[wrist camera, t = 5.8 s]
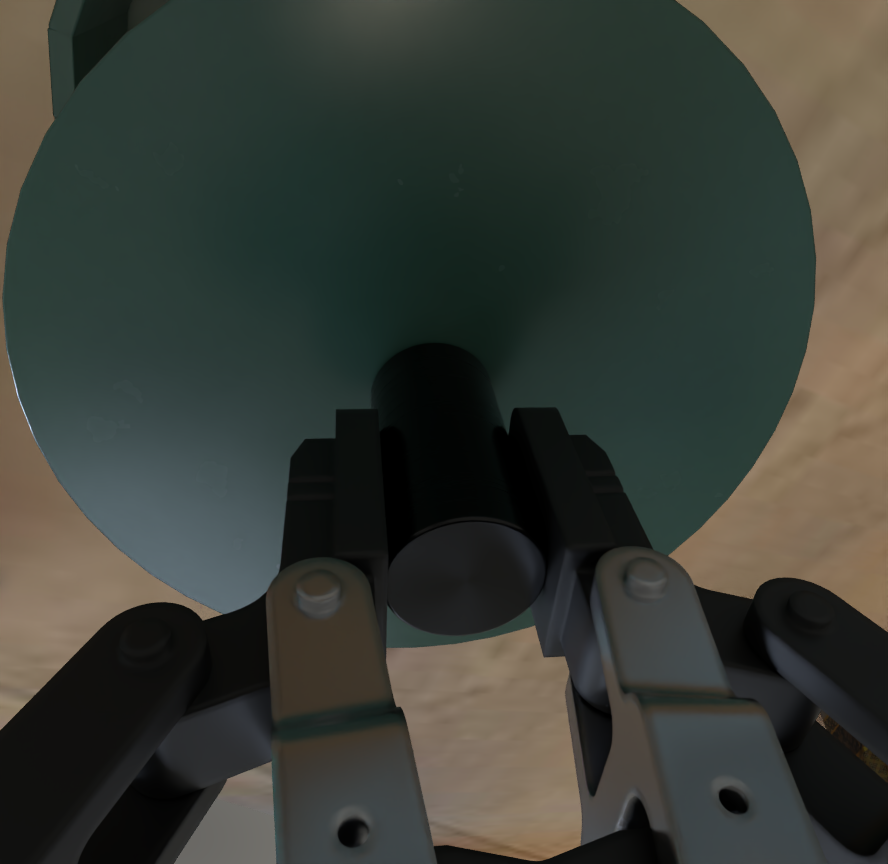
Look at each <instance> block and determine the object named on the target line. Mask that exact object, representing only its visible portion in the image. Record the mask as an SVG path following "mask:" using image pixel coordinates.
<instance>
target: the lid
mask: <svg viewBox="0 0 888 864" xmlns="http://www.w3.org/2000/svg"><path fill="white" fill-rule="evenodd" d="M815 274H816V253H815V244H814V235H813V226H812V217H811V209H810V205H809V202H808V198H807V194H806V191H805V187H804V183H803V180H802V176H801V172H800V169H799V165H798V161H797V159H796V156H795V154H794V152H793V150H792V148H791V145H790V143H789V141H788V139H787V136H786V134H785V132H784V130H783V128H782V125H781V123H780V121H779V119H778V117H777V114H776V112H775V110H774V109H773V107H772V106H771V104H770V103H769V101H768V100H767V98H766V97H765V95H764V94H763V93H762V91H761V90H760V88H759V87H758V85H757V84H756V82H755V81H754V79H753V78H752V76H751V75H750V73H749V72H748V70H747V69H746V67H745V66H744V64H743V63H742V62H741V61H740V60H739V59H738V58H737V57H736V56H735V55H734V54H733V53H732V52H731V51H730V49H729V48H728V47H727V46H726V45H725V44H724V43H723V42H722V41H721V40H720V39H719V38H718V37H717V36H716V35H715V34H714V32H713V31H712V30H711V29H710V28H709V27H708V26H707V25H706V24H705V23H704V22H703V21H702V20H700V19H699V18H698V17H696V16H695V15H694V14H693V13H691V12H690V11H689V10H687V9H686V8H685V7H683V6H682V5H681V4H679V3H678V2H677V1H675V0H168V1H167V2H166V3H164V4H163V5H162V6H160V7H159V8H158V9H156V10H155V11H154V12H153V13H151V14H150V15H149V16H147V17H146V18H145V19H143V20H142V21H141V22H139V23H138V24H137V25H135V26H134V27H133V28H132V29H130V30H129V31H128V32H126V33H125V34H124V35H123V36H122V38H121V39H120V40H119V41H118V42H117V43H116V44H115V45H114V46H113V47H112V48H111V49H110V50H109V51H108V52H107V54H106V55H105V56H104V57H103V58H102V59H101V60H100V61H99V62H98V63H97V64H96V65H95V66H94V67H93V68H92V69H91V71H90V72H89V73H88V74H87V75H86V76H85V77H84V78H83V79H82V80H81V81H80V83H79V84H78V86H77V87H76V89H75V90H74V92H73V93H72V95H71V96H70V98H69V99H68V101H67V102H66V104H65V105H64V107H63V108H62V110H61V111H60V113H59V114H58V116H57V117H56V119H55V120H54V122H53V123H52V125H51V126H50V128H49V129H48V131H47V132H46V134H45V136H44V138H43V141H42V143H41V145H40V147H39V149H38V152H37V154H36V156H35V158H34V161H33V163H32V165H31V167H30V170H29V172H28V174H27V176H26V179H25V181H24V183H23V185H22V188H21V191H20V195H19V199H18V203H17V206H16V210H15V214H14V218H13V222H12V226H11V230H10V234H9V238H8V242H7V249H6V261H5V273H4V285H3V296H2V299H3V312H4V325H5V337H6V350H7V354H8V358H9V362H10V367H11V371H12V375H13V379H14V383H15V387H16V392H17V396H18V399H19V402H20V404H21V407H22V409H23V412H24V414H25V416H26V419H27V421H28V424H29V426H30V429H31V431H32V434H33V436H34V439H35V441H36V443H37V445H38V447H39V448H40V450H41V452H42V453H43V455H44V457H45V459H46V460H47V462H48V464H49V466H50V467H51V469H52V471H53V472H54V474H55V476H56V478H57V479H58V481H59V483H60V484H61V485H62V486H63V488H64V489H65V490H66V492H67V493H68V494H69V495H70V497H71V498H72V499H73V501H74V502H75V503H76V504H77V506H78V507H79V508H80V510H81V511H82V512H83V513H84V515H85V516H86V517H87V518H88V519H89V520H90V521H91V522H92V523H93V524H94V525H95V526H96V527H97V528H98V529H99V530H100V531H101V532H102V533H103V534H104V535H105V536H106V537H107V538H108V539H109V540H110V541H111V542H112V543H113V544H114V545H115V546H116V547H117V548H118V549H119V550H120V551H122V552H123V553H124V554H126V555H127V556H128V557H129V558H131V559H132V560H133V561H134V562H136V563H137V564H138V565H140V566H141V567H142V568H143V569H145V570H146V571H147V572H148V573H150V574H151V575H153V576H154V577H156V578H157V579H159V580H161V581H162V582H164V583H165V584H167V585H169V586H170V587H172V588H174V589H175V590H177V591H178V592H180V593H182V594H183V595H185V596H187V597H189V598H191V599H193V600H195V601H197V602H199V603H201V604H203V605H205V606H207V607H209V608H211V609H213V610H215V611H217V612H219V613H222V614H226V613H230V612H233V611H235V610H238V609H241V608H243V607H245V606H247V605H249V604H251V603H252V602H254V601H255V600H257V599H258V598H260V597H261V596H262V595H263V594H264V593H266V592H267V590H268V587H269V585H270V584H271V582H272V580H273V579H274V578H275V577H276V575H277V574H278V573H279V569H280V562H281V552H282V542H283V531H284V521H285V511H286V501H287V490H288V483H289V469H290V459H291V457H292V455H293V454H294V453H295V451H296V450H297V449H298V447H299V446H300V445H301V443H302V442H303V441H304V440H305V439H324V438H335V435H336V409H378V416H379V430H380V444H381V458H382V472H383V486H384V500H385V514H386V528H387V542H388V593H387V636H386V648H415V647H427V646H437V645H448V644H457V643H462V642H468V641H474V640H479V639H485V638H490V637H495V636H499V635H502V634H506V633H510V632H513V631H517V630H521V629H525V628H528V627H532V626H534V625H535V623H534V619H533V615H532V612H531V608H530V606H531V605H532V604H533V603H534V601H535V600H536V599H537V598H538V596H539V594H540V593H541V591H542V589H543V587H544V584H545V581H546V576H547V558H546V554H545V551H544V548H543V544H542V541H541V538H540V535H539V532H538V529H537V525H536V522H535V519H534V516H533V513H532V510H531V507H530V503H529V500H528V497H527V494H526V491H525V488H524V484H523V481H522V478H521V475H520V472H519V469H518V465H517V462H516V459H515V456H514V453H513V450H512V447H511V443H510V440H509V437H508V434H509V426H510V419H511V414H512V411H513V409H514V408H525V407H556V408H557V409H558V411H559V413H560V415H561V417H562V420H563V422H564V424H565V426H566V429H567V431H568V433H569V435H587V436H588V437H589V438H590V439H591V440H593V441H594V442H595V443H596V444H597V445H598V446H599V447H601V448H602V449H603V450H604V451H605V452H606V454H607V456H608V458H609V460H610V462H611V464H612V466H613V468H614V470H615V475H616V476H618V478H619V480H620V482H621V484H622V486H623V492H624V493H625V492H626V494H627V496H628V499H629V501H630V503H631V505H632V507H633V509H634V511H635V513H636V515H637V517H638V519H639V521H640V523H641V525H642V527H643V529H644V531H645V533H646V535H647V537H648V539H649V541H650V543H651V546H652V548H653V550H656V551H658V552H661V553H663V554H665V555H667V556H668V555H669V554H671V553H672V552H673V551H674V550H675V549H676V548H678V547H679V546H680V545H681V544H682V543H683V542H685V541H686V540H687V539H688V538H689V537H690V536H692V535H693V534H694V533H695V532H696V531H697V530H699V529H700V528H701V527H702V526H703V525H704V523H705V522H706V521H707V520H708V519H709V518H710V517H711V516H712V515H713V514H714V513H715V512H716V511H717V510H718V509H719V508H720V507H721V506H722V505H723V504H724V503H725V502H726V500H727V499H728V498H729V497H730V496H731V494H732V493H733V492H734V490H735V489H736V488H737V487H738V485H739V484H740V483H741V481H742V480H743V479H744V478H745V476H746V475H747V474H748V472H749V471H750V470H751V469H752V467H753V466H754V464H755V462H756V461H757V459H758V458H759V456H760V454H761V453H762V451H763V449H764V448H765V446H766V445H767V443H768V441H769V440H770V438H771V436H772V435H773V433H774V431H775V430H776V427H777V425H778V423H779V421H780V419H781V417H782V414H783V412H784V410H785V408H786V406H787V404H788V401H789V399H790V397H791V395H792V393H793V390H794V387H795V384H796V381H797V378H798V374H799V371H800V368H801V365H802V362H803V359H804V356H805V353H806V349H807V343H808V338H809V332H810V327H811V321H812V315H813V310H814V300H815Z"/></svg>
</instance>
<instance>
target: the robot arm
mask: <svg viewBox="0 0 888 864" xmlns="http://www.w3.org/2000/svg"><path fill="white" fill-rule="evenodd" d="M508 437H509V440H510V443H511V447H512V450H513V453H514V456H515V459H516V462H517V465H518V469H519V472H520V475H521V478H522V481H523V484H524V488H525V491H526V494H527V497H528V500H529V503H530V507H531V510H532V513H533V516H534V519H535V522H536V525H537V529H538V532H539V535H540V538H541V541H542V544H543V548H544V551H545V554H546V558H547V576H546V581H545V584H544V587H543V589H542V591H541V593H540V594H539V596H538V598H537V599H536V600H535V601H534V603H533V604H532V605H531V606H530V608H531V612H532V615H533V619H534V623H535V626H536V630H537V634H538V638H539V641H540V645H541V649H542V652H543V656H544V657H560V656H565V658H566V661H567V664H568V668H569V671H570V672H569V676H568V680H567V684H566V690H565V698H566V705H567V712H568V718H569V725H570V732H571V739H572V746H573V753H574V760H575V766H576V773H577V780H578V787H579V794H580V801H581V810H582V832H581V846H579V847H577V848H574V849H572V850H569V851H567V852H564V853H562V854H559V855H557V856H554V857H552V858H550V859H547V860H543V861H529V860H524V859H518V858H513V857H507V856H502V855H497V854H491V853H486V852H481V851H475V850H470V849H465V848H459V847H454V846H448V845H444V846H433V841H432V837H431V832H430V827H429V823H428V818H427V814H426V809H425V804H424V800H423V795H422V791H421V786H420V781H419V777H418V772H417V768H416V763H415V758H414V754H413V749H412V745H411V740H410V735H409V731H408V727H407V723H406V719H405V716H404V713H403V710H402V709H401V707H396V705H395V702H394V698H393V693H392V689H391V684H390V679H389V674H388V669H387V664H386V636H387V593H388V542H387V528H386V514H385V500H384V486H383V472H382V458H381V444H380V430H379V416H378V409H336V435H335V438H324V439H305V440H304V441H303V442H302V443H301V445H300V446H299V447H298V449H297V450H296V451H295V453H294V454H293V455H292V457H291V459H290V469H289V483H288V490H287V501H286V511H285V521H284V531H283V542H282V552H281V562H280V569H279V573H278V574H277V575H276V577H275V578H274V579H273V580H272V582H271V584H270V585H269V587H268V590H267V592H266V593H264V594H263V595H262V596H261V597H260V598H258V599H257V600H255V601H254V602H252V603H251V604H249V605H247V606H245V607H243V608H241V609H238V610H235V611H233V612H230V613H226V614H223V615H220V616H217V617H213V618H210V619H207V620H203V621H202V619H201V618H200V617H199V616H198V615H197V613H195V612H194V611H192V610H191V609H189V608H187V607H185V606H183V605H179V604H175V603H167V602H157V603H149V604H144V605H140V606H137V607H134V608H131V609H129V610H126V611H124V612H122V613H121V614H119V615H117V616H115V617H114V618H112V619H111V620H110V621H108V622H107V623H106V624H105V625H104V626H103V627H102V628H100V630H99V631H98V632H97V633H96V634H95V635H94V636H93V637H92V638H91V639H90V640H89V641H88V642H87V643H86V644H85V645H84V646H83V647H82V648H81V649H80V650H79V651H78V652H77V653H76V654H75V655H74V656H73V657H72V658H71V659H70V660H69V661H68V662H67V663H66V664H65V665H64V666H63V667H62V668H61V669H60V670H59V671H58V672H57V673H56V674H55V675H54V676H53V677H52V678H51V679H50V680H49V681H48V683H47V684H46V685H45V686H44V687H43V688H42V689H41V690H40V691H39V692H38V693H37V694H36V695H35V696H34V697H33V698H32V699H31V700H30V701H29V702H28V703H27V704H26V705H25V706H24V707H23V708H22V709H21V710H20V711H19V712H18V713H17V714H16V715H15V716H14V717H13V718H12V719H11V720H10V721H9V722H8V723H7V724H6V725H5V726H4V727H3V728H2V729H1V730H0V864H174V862H175V861H176V859H177V858H178V856H179V855H180V853H181V851H182V850H183V848H184V847H185V845H186V844H187V842H188V840H189V839H190V837H191V836H192V834H193V833H194V831H195V830H196V828H197V827H198V825H199V824H200V822H201V821H202V819H203V817H204V816H205V815H206V813H207V811H208V810H209V808H210V807H211V805H212V804H213V802H214V801H215V799H216V798H217V796H218V795H219V793H220V791H221V790H222V788H223V786H224V785H225V783H226V781H227V779H228V778H230V777H233V776H235V775H238V774H240V773H243V772H246V771H248V770H251V769H253V768H256V767H258V766H261V765H263V764H266V763H268V762H271V761H272V781H273V801H274V821H275V842H276V862H277V864H888V783H887V782H886V781H885V780H884V779H883V778H881V777H880V776H879V775H878V774H877V773H876V772H874V771H873V770H872V769H871V768H870V767H869V766H868V765H866V764H865V763H864V762H863V761H862V760H861V759H859V758H858V757H857V756H856V755H855V754H854V753H853V752H851V751H850V750H849V749H848V748H847V747H846V746H844V745H843V744H842V743H841V742H840V741H839V740H838V739H836V738H835V737H834V736H833V735H832V734H831V733H829V732H828V731H827V730H826V729H825V728H824V727H823V726H821V725H820V724H819V723H818V722H817V721H816V719H817V717H818V715H819V714H820V712H821V710H823V711H824V712H825V713H826V714H827V715H829V716H830V717H831V718H832V719H833V720H835V721H836V722H837V723H838V724H839V725H840V726H842V727H843V728H844V729H845V730H846V731H847V732H849V733H850V734H851V735H852V736H853V737H854V738H856V739H857V740H858V741H859V742H860V743H862V744H863V745H864V746H865V747H866V748H867V749H869V750H870V751H871V752H872V753H873V754H874V755H876V756H877V757H878V758H879V759H880V760H882V761H883V762H884V763H885V764H886V765H887V766H888V632H886V631H885V630H884V629H882V628H881V627H879V626H878V625H877V624H875V623H874V622H873V621H871V620H870V619H868V618H867V617H866V616H864V615H863V614H862V613H860V612H859V611H857V610H856V609H855V608H853V607H852V606H850V605H849V604H848V603H846V602H845V601H844V600H842V599H841V598H839V597H838V596H837V595H835V594H833V593H832V592H830V591H829V590H827V589H825V588H823V587H821V586H819V585H817V584H814V583H812V582H808V581H805V580H801V579H796V578H776V579H771V580H769V581H767V582H765V583H763V584H762V585H761V586H760V587H759V588H758V590H757V591H756V594H755V596H754V598H753V599H749V598H744V597H739V596H735V595H730V594H725V593H720V592H716V591H711V590H708V589H704V588H701V587H698V586H695V585H694V584H693V582H692V580H691V578H690V576H689V574H688V573H687V572H686V570H685V569H684V568H683V567H682V566H681V565H680V564H679V563H677V562H676V561H675V560H673V559H672V558H670V557H669V556H667V555H665V554H663V553H661V552H658V551H656V550H653V548H652V546H651V543H650V541H649V539H648V537H647V535H646V533H645V531H644V529H643V527H642V525H641V523H640V521H639V519H638V517H637V515H636V513H635V511H634V509H633V507H632V505H631V503H630V501H629V499H628V496H627V494H626V492H625V493H624V492H623V486H622V484H621V482H620V480H619V478H618V476H616V475H615V470H614V468H613V466H612V464H611V462H610V460H609V458H608V456H607V454H606V452H605V451H604V450H603V449H602V448H601V447H599V446H598V445H597V444H596V443H595V442H594V441H593V440H591V439H590V438H589V437H588V436H587V435H569V433H568V431H567V429H566V426H565V424H564V422H563V420H562V417H561V415H560V413H559V411H558V409H557V408H556V407H525V408H514V409H513V411H512V414H511V419H510V426H509V434H508Z"/></svg>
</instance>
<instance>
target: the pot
mask: <svg viewBox="0 0 888 864" xmlns="http://www.w3.org/2000/svg"><path fill="white" fill-rule="evenodd" d="M167 1H168V0H56V3H55V6H54V9H53V12H52V16H51V19H50V22H49V28H48V43H49V58H50V73H51V89H52V104H53V115H54V116H55V119H56V117H57V116H58V114H59V113H60V111H61V110H62V108H63V107H64V105H65V104H66V102H67V101H68V99H69V98H70V96H71V95H72V93H73V92H74V90H75V89H76V87H77V86H78V84H79V83H80V81H81V80H82V79H83V78H84V77H85V76H86V75H87V74H88V73H89V72H90V71H91V69H92V68H93V67H94V66H95V65H96V64H97V63H98V62H99V61H100V60H101V59H102V58H103V57H104V56H105V55H106V54H107V52H108V51H109V50H110V49H111V48H112V47H113V46H114V45H115V44H116V43H117V42H118V41H119V40H120V39H121V38H122V36H123V35H124V34H125V33H126V32H128V31H129V30H130V29H132V28H133V27H134V26H135V25H137V24H138V23H139V22H141V21H142V20H143V19H145V18H146V17H147V16H149V15H150V14H151V13H153V12H154V11H155V10H156V9H158V8H159V7H160V6H162V5H163V4H164V3H166V2H167Z"/></svg>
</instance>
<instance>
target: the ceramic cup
mask: <svg viewBox="0 0 888 864" xmlns="http://www.w3.org/2000/svg"><path fill="white" fill-rule="evenodd" d="M820 713H821V716H822V719H823V721H824V724H825V727H826V729H827V731H828V732H829V733H831V734H832V735H833V736H834V737H835V738H836V739H838V740H839V741H840V742H841V743H842V744H843V745H844V746H846V747H847V748H848V749H849V750H850V751H851V752H853V753H854V754H855V755H856V756H857V757H858V758H859V759H861V760H862V761H863V762H864V763H865V764H866V765H868V766H869V767H870V768H871V769H872V770H873V771H874V772H876V773H877V774H878V775H879V776H880V777H881V778H883V779H884V780H885V781H886V782H887V783H888V766H887V765H886V764H885V763H884V762H883V761H882V760H880V759H879V758H878V757H877V756H876V755H874V754H873V753H872V752H871V751H870V750H869V749H867V748H866V747H865V746H864V745H863V744H862V743H860V742H859V741H858V740H857V739H856V738H854V737H853V736H852V735H851V734H850V733H849V732H847V731H846V730H845V729H844V728H843V727H842V726H840V725H839V724H838V723H837V722H836V721H835V720H833V719H832V718H831V717H830V716H829V715H827V714H826V713H825V712H824V711H823V710H821V712H820Z"/></svg>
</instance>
